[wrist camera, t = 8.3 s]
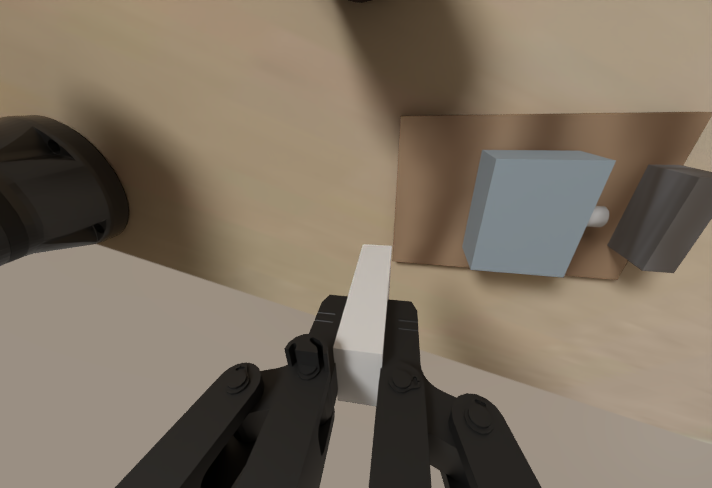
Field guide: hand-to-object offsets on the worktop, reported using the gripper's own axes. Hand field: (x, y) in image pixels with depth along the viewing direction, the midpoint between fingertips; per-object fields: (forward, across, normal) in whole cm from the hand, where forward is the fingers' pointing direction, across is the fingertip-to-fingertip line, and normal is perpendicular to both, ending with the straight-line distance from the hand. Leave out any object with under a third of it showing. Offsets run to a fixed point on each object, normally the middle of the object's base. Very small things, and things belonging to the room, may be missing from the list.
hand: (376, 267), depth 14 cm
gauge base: (+13, +11, 0) cm, 17 cm away
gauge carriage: (+12, +12, -1) cm, 17 cm away
